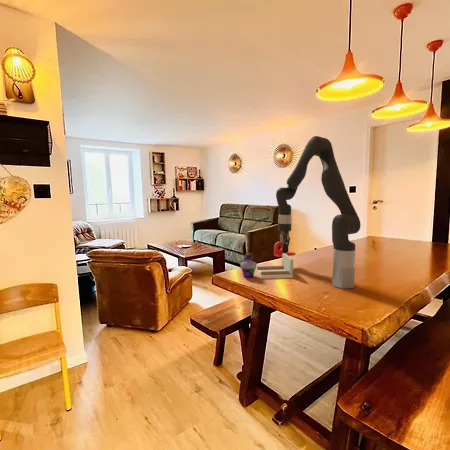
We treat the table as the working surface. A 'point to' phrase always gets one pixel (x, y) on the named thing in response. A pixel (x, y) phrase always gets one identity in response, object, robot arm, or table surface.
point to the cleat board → (277, 269)
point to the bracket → (281, 250)
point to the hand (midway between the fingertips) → (284, 252)
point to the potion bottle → (248, 266)
